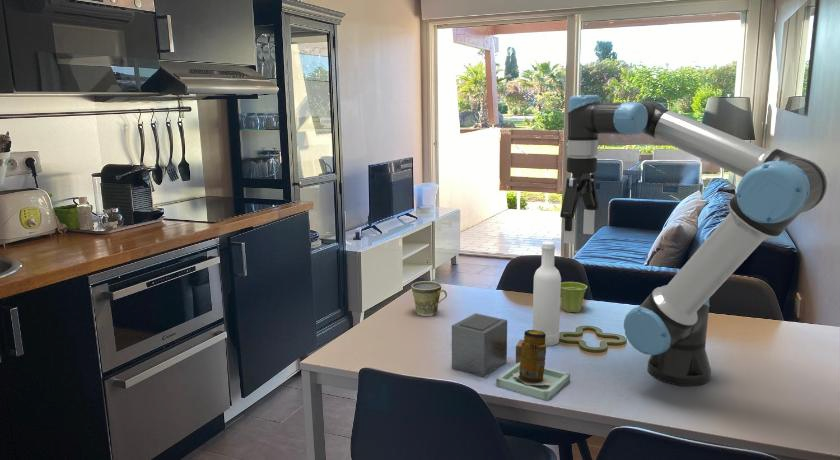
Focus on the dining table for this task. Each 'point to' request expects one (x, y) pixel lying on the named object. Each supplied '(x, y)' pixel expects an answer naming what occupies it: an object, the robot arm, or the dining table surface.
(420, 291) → the ceramic cup
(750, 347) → the dining table surface
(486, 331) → the unit
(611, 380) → the dining table surface
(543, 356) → the condiment
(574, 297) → the plant pot
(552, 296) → the bottle
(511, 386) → the tray
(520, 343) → the walnut block
